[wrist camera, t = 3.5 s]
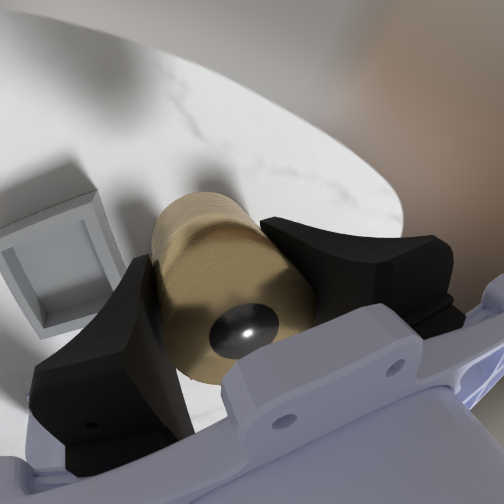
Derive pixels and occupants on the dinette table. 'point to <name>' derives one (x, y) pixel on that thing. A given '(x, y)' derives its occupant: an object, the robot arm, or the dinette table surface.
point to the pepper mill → (222, 286)
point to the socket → (61, 264)
